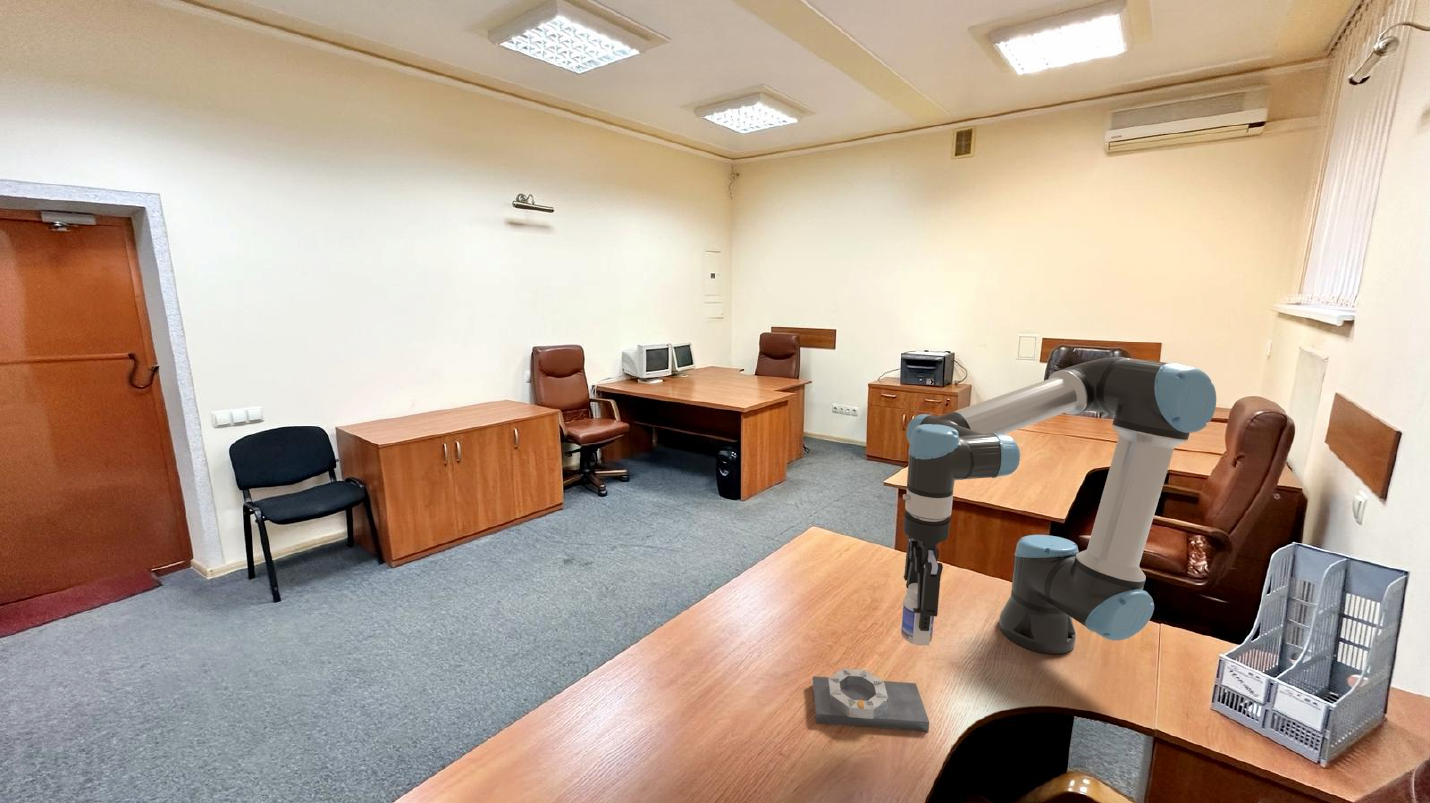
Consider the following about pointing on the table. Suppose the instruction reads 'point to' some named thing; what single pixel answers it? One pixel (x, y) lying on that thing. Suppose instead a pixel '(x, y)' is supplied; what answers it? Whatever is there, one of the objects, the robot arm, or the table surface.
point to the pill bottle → (911, 613)
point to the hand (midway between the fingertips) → (916, 632)
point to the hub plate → (888, 719)
